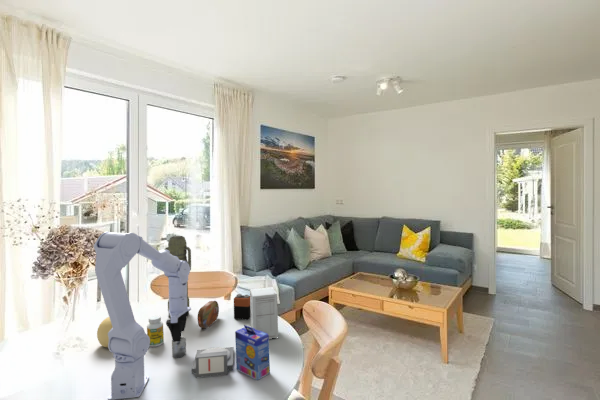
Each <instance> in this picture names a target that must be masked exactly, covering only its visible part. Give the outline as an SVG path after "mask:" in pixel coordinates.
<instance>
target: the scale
mask: <svg viewBox="0 0 600 400" xmlns="http://www.w3.org/2000/svg"><path fill="white" fill-rule="evenodd" d="M234 351H235V348H234V346H232V347H230V346H229V347H220V346H219V347H210V348H206V349H197V350H196V354H195V357H194V360H193V363H192V367H191V375H195V378H196V379H197V378H198V379H200V378H208V377H219V376H227V375H228V371H232V370H233V368H234V367H233V366H234V356H235V355H234Z"/></svg>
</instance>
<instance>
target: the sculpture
mask: <svg viewBox="0 0 600 400" xmlns="http://www.w3.org/2000/svg"><path fill="white" fill-rule="evenodd" d="M112 328H113V327H112V324H111V320H110V317H109V316H108V317H106V318H104V319H103V320H102V321H101V322H100V324H99V326H98V328H97V331H96V332H97V333H96V337H97V341H98V342H99V344H100V345H101V346H102V347H103V348H108V342H109V337H108V332H109V331H110V330H111V329H112Z"/></svg>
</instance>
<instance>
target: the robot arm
mask: <svg viewBox="0 0 600 400" xmlns="http://www.w3.org/2000/svg"><path fill="white" fill-rule="evenodd" d="M93 249H94V251H95V255H96V256H95V265H94V266H95V267H94V271H95V276H96V280H97V282H98V285H99V288H100V292H101V295H102V298H103V302H104V304H105V308H106V311H107V314H108V317H110V320H111V324H112V327H113V328H112V329H111V330H110V331H109V332H108V337H109V342H108V347H107V348H108V350H109V352H110V353H112V357H113V358H114V365H115V366H114V370H113V372H112V373H111V376H110V381H111V382H110V385H111V387H110V389H111V392H110V394H109V395H108V397H107V400H121V399H122V400H123V399H133V398H139V397H140V396H141V395H142V393H143V391H144V389H145V386H146V385H147V383H148V381H149V379H150V376H149V375H147V376H146V375H145V356H146V355H147V352H148V351H149V348H150V338H149V336H148V335H147V332H145V328H144V327H143V326H142V325H140V323H138V322H137V321H136V319H135V315H134V313H133V309H132V305H131V302H130V298H129V295H128V292H127V289H126V285H125V282H124V278H123V275H122V270H123V268H125V267H127V265H128V264H129V263H130V262H131V260H132V259H133V258H134V257H135V256H136V255H139V256H141V257H144V258H146V259H148V260H150V261H151V265H152V266H153V267H154V268H156V269H158V270H160V271H162V272H163V274H164V276H165V277H167V276H168V277H167V279H168V300H169V312H168V315H169V314H170V316H171V319H166V322H165V324H166V326H167V328H168V330H169V332H170V335H171V340H173V342H177V341H180V339H181V337H182V333H183V332H185V328H186V324H187V318H188V316H189V315H188V313H189V314H190V311H191V310H192V306H189V307H187V282H188V280H189V275H190V273H191V270H190V267H189V264H188V263H187V262H186V261H183V260H179V259H178V257H177V256H173V255H172V254H170V251H169V250H165V249H160V250H158V249H156V248H155V247H153V245H151V244H149V242H147V241H146V240H144V238H143V236H140V235H138V234H137V233H135V232H113V231H105V232H103V233H102V234H100V235H99V236H98V238H97V239H96V241H95V243H94V244H93ZM187 315H188V316H187Z"/></svg>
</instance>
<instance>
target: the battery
mask: <svg viewBox="0 0 600 400" xmlns="http://www.w3.org/2000/svg"><path fill="white" fill-rule="evenodd" d="M233 319H234V320H245V319H246V321H248V319H249V320H251V310H250V295H249V294H245V295H242V294H241V293H237V294H236V296H235V297H234V298H233Z"/></svg>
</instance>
